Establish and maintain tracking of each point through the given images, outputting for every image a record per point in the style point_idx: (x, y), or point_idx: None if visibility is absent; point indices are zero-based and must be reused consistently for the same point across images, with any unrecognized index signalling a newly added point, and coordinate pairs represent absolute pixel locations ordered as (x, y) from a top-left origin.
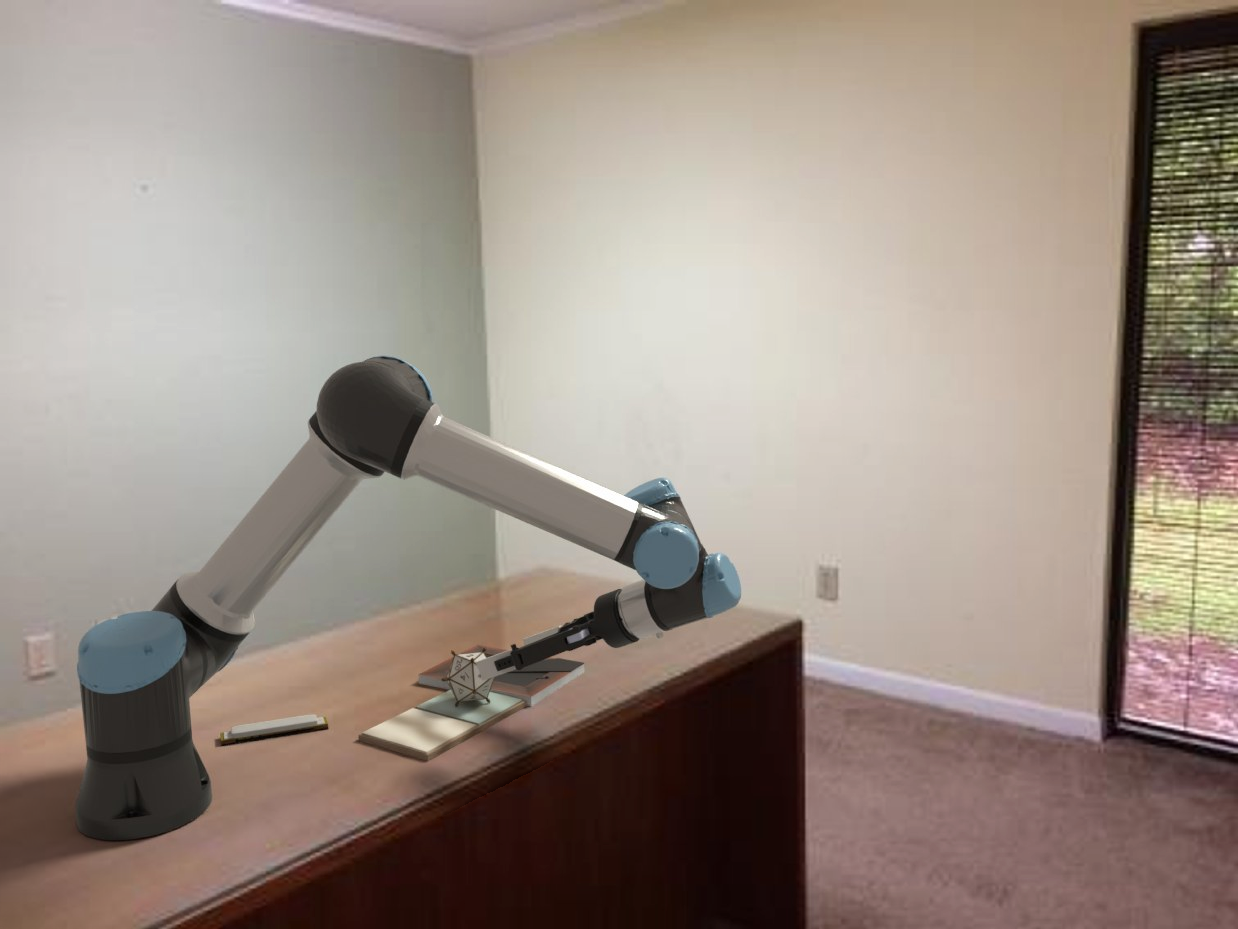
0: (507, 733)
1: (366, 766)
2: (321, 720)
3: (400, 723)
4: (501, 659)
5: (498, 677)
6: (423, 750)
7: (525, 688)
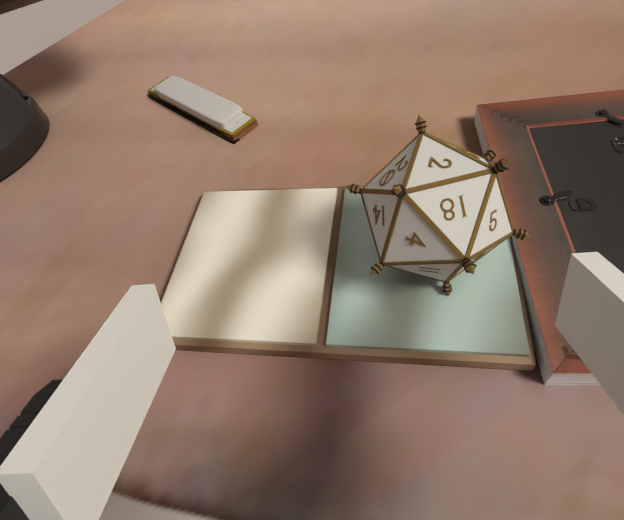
0: (347, 427)
1: (114, 268)
2: (236, 124)
3: (261, 214)
4: (12, 426)
5: (600, 220)
6: None
7: None
